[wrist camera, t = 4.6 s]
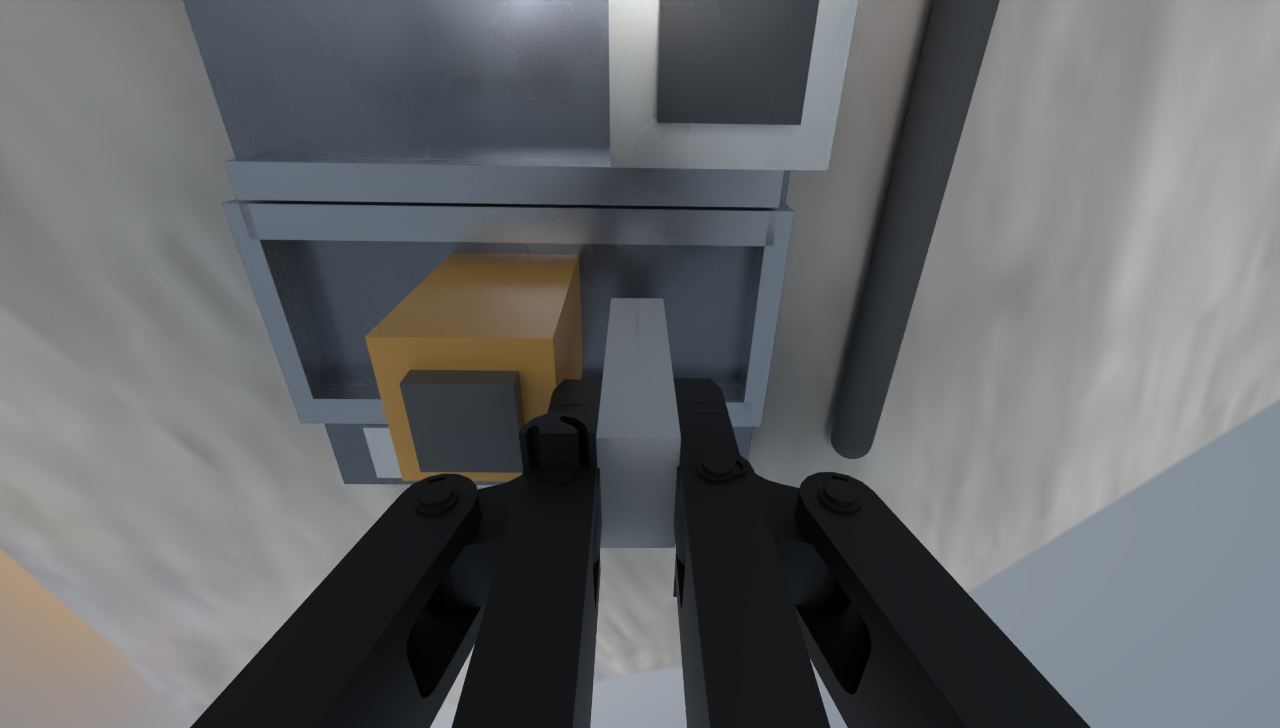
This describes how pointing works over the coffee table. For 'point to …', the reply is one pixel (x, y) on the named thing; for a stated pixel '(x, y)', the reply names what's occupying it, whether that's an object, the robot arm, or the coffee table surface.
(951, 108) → the rod
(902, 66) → the coffee table surface
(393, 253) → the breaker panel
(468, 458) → the block
